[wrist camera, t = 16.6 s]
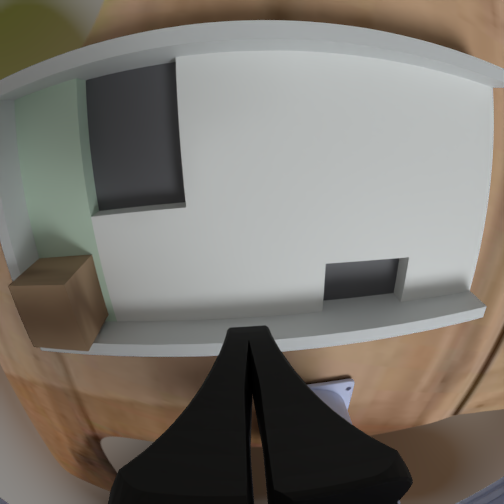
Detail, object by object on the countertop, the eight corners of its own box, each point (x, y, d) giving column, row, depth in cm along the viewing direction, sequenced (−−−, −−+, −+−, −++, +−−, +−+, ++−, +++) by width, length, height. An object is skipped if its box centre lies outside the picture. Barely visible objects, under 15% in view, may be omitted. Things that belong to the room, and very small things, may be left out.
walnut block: (108, 314, 20) (88, 351, 16) (57, 313, 20) (33, 346, 16) (92, 254, 18) (64, 284, 14) (39, 258, 18) (8, 285, 14)
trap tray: (457, 292, 22) (482, 317, 19) (62, 320, 22) (41, 350, 18) (479, 75, 15) (515, 74, 12) (16, 90, 14) (-20, 90, 11)
